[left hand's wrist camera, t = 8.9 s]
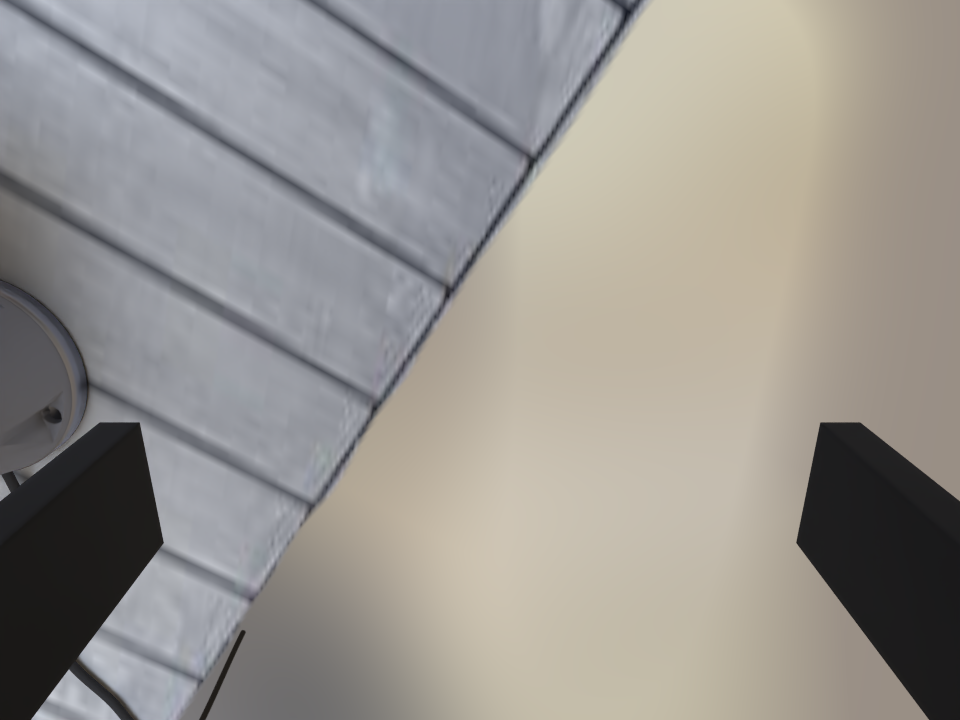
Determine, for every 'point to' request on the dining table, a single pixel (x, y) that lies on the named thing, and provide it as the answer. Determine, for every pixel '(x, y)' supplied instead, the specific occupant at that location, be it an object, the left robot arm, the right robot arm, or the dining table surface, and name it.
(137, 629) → the dining table surface
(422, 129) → the dining table surface
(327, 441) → the dining table surface
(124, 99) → the dining table surface
